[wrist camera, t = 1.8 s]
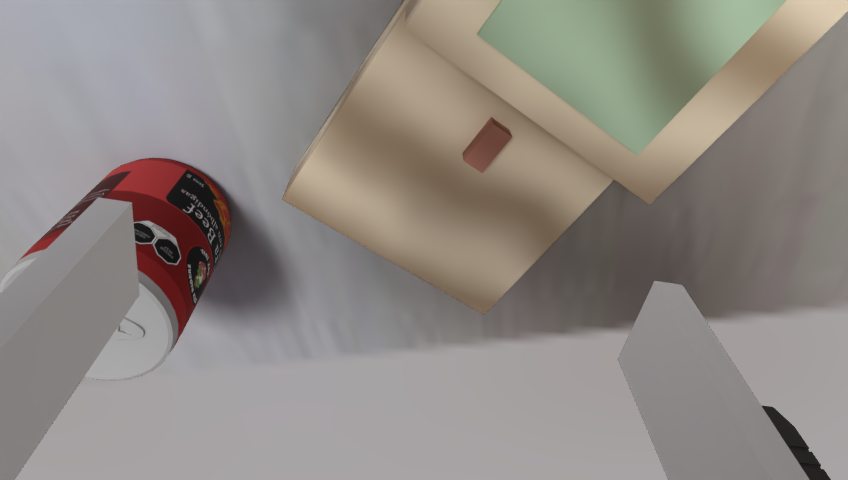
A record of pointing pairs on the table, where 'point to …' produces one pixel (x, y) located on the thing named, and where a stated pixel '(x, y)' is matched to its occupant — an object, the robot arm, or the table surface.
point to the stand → (533, 121)
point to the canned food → (154, 257)
